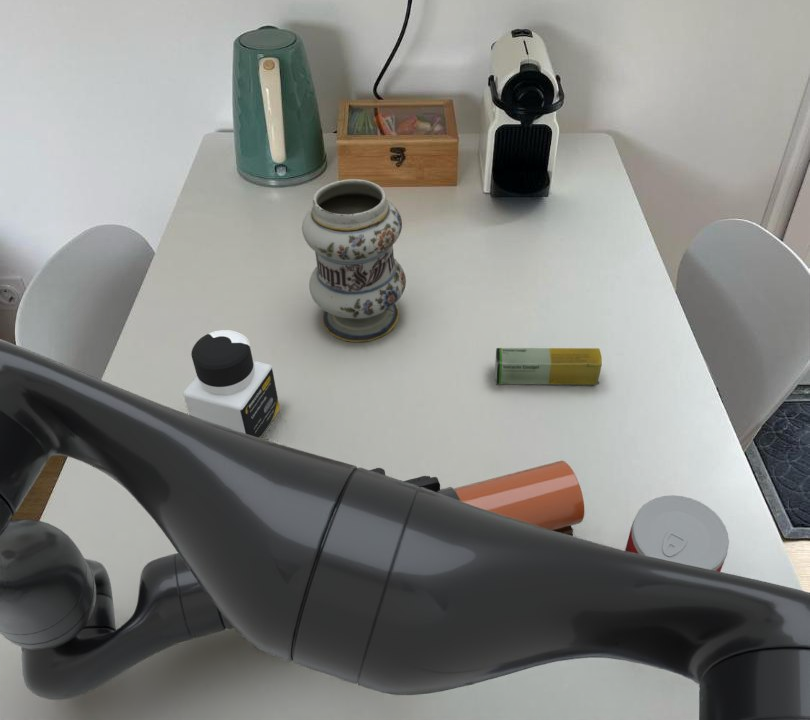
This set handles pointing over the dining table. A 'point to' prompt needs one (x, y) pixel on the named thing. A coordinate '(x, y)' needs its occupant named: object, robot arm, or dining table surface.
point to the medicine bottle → (231, 384)
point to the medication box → (548, 366)
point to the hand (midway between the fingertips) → (454, 522)
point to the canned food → (679, 533)
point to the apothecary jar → (355, 259)
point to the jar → (529, 496)
